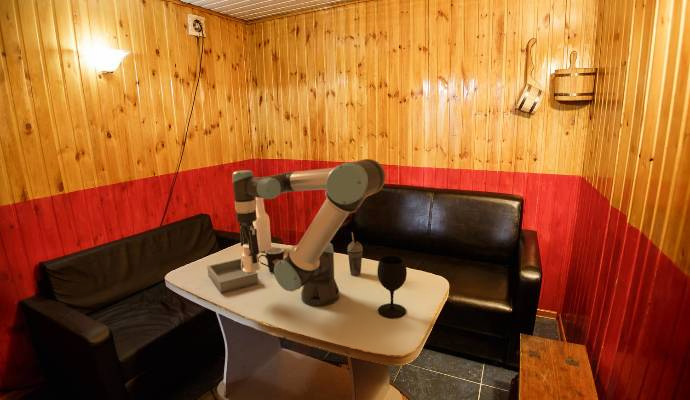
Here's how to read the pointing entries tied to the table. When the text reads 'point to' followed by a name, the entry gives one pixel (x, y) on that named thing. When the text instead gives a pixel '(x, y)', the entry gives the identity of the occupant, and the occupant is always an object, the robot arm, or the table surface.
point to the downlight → (247, 259)
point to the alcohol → (262, 226)
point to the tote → (231, 276)
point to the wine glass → (392, 283)
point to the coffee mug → (273, 257)
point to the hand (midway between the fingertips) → (251, 267)
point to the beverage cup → (355, 257)
